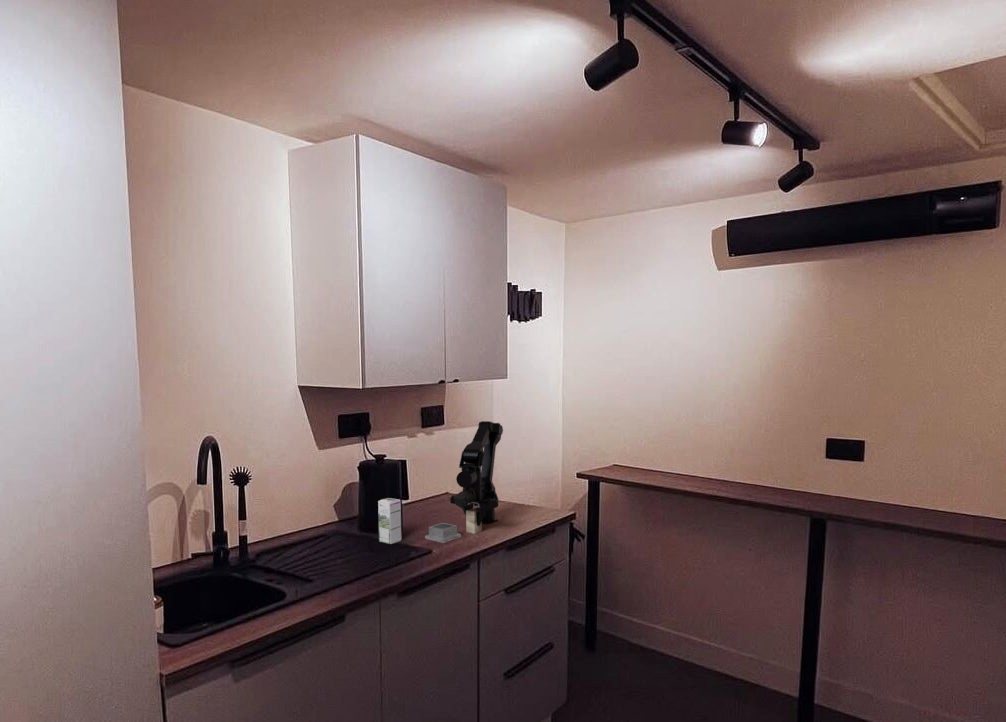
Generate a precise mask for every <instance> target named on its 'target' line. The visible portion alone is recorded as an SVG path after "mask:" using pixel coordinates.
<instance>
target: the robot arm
mask: <svg viewBox="0 0 1006 722" xmlns="http://www.w3.org/2000/svg"><path fill="white" fill-rule="evenodd" d="M503 432H504V427H503V425H501V424H500V422H493V421H488V420H487V421H486V420H481V421H479V422H478V428H477V429H476V432H475V433H474V436H473V439H472V441H471V443H468V444H467V445H466V446H465V447H464V449H463V450H462V452H461V455H460V456H461V457H460V460H459V466H458V468H459V469H461V471H460V472H459V473H458V474H457V475H456V483H457V485H458V486H459V487H461V488H462V490H461V491H460V492H458V493H456V494H452V495H451V496H450V499H449V500H450V504H453V505H455V506H457V507H458V508H460V509H461V510H462V511H463V514H464V515H465V517H466V510H469V509H472V508H474V510H475V511H476V517H477V526H480V524H481V522H482V524H487V525H488V524H491V523H493V522H497V521H499V519H498V518H495V517H496V514H495V510H496V508H498V507H499V497H498V493H497V492H496V487H495V484H494V482H493V476H494V466H495V459H496V458H495V457H496V449H497V448H496V447H497V445H498V444H499V442H500V441H501V439H502V438H501V437H502V435H503V434H504V433H503Z"/></svg>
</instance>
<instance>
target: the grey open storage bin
mask: <svg viewBox="0 0 1006 722" xmlns="http://www.w3.org/2000/svg"><path fill="white" fill-rule="evenodd" d="M424 538H425V540H430V541H432V542H433V541H434V542H437V543H442V544H444V543H447V542H450V541H453V540H456V539H459V538H462V534H461V533H460V532H459V533H458V525H455V524H450V523H446V522H440V523H437V524H434V525H432V526H431V525H430V526H428V534H427V535H424Z"/></svg>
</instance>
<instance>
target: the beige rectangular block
mask: <svg viewBox="0 0 1006 722" xmlns="http://www.w3.org/2000/svg"><path fill="white" fill-rule="evenodd" d="M474 508H475V507H473V508H472V509H469V510H466V516H465V518H466V519H465V524H466V525H465V527H466V531H465V532H466V533H468V534H471V535H472V534H473V535H476V534H479V533H482V531H483V525H482V524H483V523H482V522H481V524H480V526H477V517H476V511H475V510H474Z"/></svg>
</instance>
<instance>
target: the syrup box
mask: <svg viewBox="0 0 1006 722" xmlns="http://www.w3.org/2000/svg"><path fill="white" fill-rule="evenodd" d="M377 503H378V504H377V506H378V509H377V510H378V511H377V512H378V541H379V543H384V544H387V545H392V544H396V543H399V542H401V541H402V514H401V512H402V509H401V503H402V502H401V499H399V498H398V499H397V498H392V497H391V498H390V497H386V498H381V499H380V500H378V501H377Z"/></svg>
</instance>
